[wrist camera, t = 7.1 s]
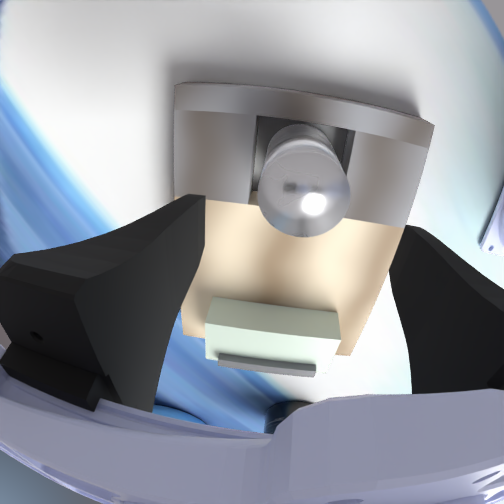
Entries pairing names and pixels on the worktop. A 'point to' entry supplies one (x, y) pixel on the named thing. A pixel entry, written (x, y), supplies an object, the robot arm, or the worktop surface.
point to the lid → (271, 337)
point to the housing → (272, 240)
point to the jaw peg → (302, 183)
